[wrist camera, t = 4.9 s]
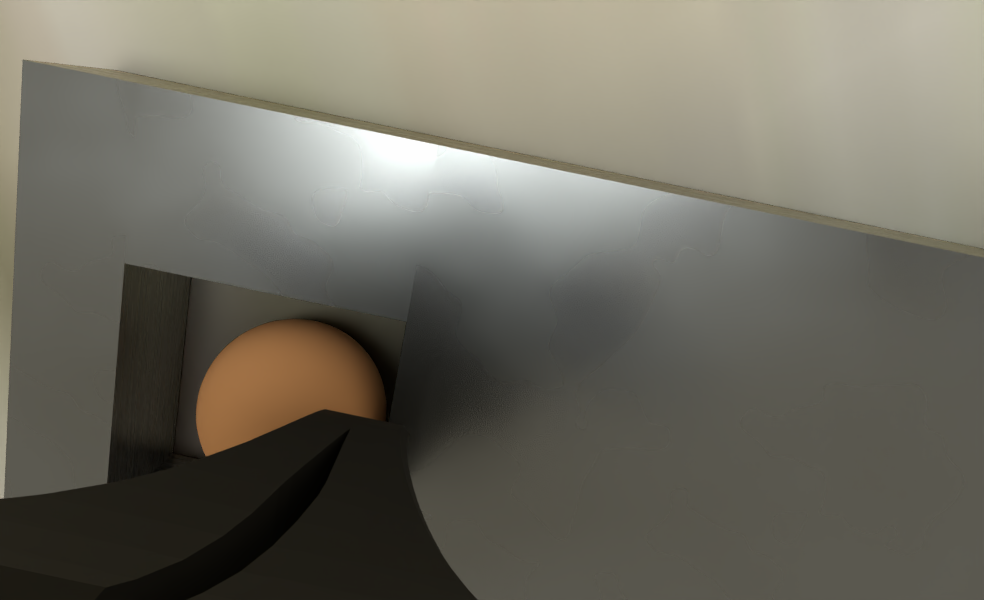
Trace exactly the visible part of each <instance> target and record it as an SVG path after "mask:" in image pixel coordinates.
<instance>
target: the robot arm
mask: <svg viewBox="0 0 984 600" xmlns="http://www.w3.org/2000/svg"><path fill="white" fill-rule="evenodd" d="M409 435H410V434H409V433H408V431H407V430H406V428H405V426H404V425H399V424H394V423H389V422H385V421H380V420H375V419H370V418H365V417H361V416H356V415H351V414H346V413H341V412H337V411H332V410H327V409H324V410H320V411H317V412H314V413H312V414H309V415H307V416H305V417H302V418H300V419H298V420H296V421H293V422H291V423H289V424H287V425H284V426H282V427H280V428H277V429H275V430H273V431H270V432H268V433H266V434H263V435H261V436H259V437H257V438H254V439H252V440H250V441H247V442H245V443H242V444H239V445H236V446H234V447H231V448H228V449H226V450H223V451H220V452H217V453H215V454H212V455H209V456H206V457H204V458H201V459H198V460H196V461H193V462H189V463H186V464H183V465H180V466H176V467H173V468H170V469H166V470H163V471H159V472H155V473H151V474H147V475H143V476H139V477H135V478H131V479H126V480H122V481H117V482H112V483H106V484H100V485H95V486H89V487H83V488H77V489H71V490H65V491H59V492H54V493H48V494H40V495H32V496H23V497H13V498H4V499H0V600H478V599H477V598H476V597H475V596H474V595H473V594H472V593H471V592H470V591H469V590H468V588H467V587H466V586H465V585H464V584H463V582H462V581H461V580H460V579H459V577H458V576H457V575H456V573H455V572H454V571H453V570H452V568H451V567H450V565H449V564H448V562H447V561H446V559H445V558H444V556H443V555H442V553H441V551H440V549H439V547H438V546H437V544H436V542H435V540H434V538H433V536H432V534H431V532H430V530H429V528H428V526H427V524H426V521H425V519H424V517H423V514H422V511H421V509H420V506H419V503H418V501H417V498H416V494H415V491H414V488H413V484H412V480H411V476H410V472H409V466H408V460H407V446H408V441H409Z"/></svg>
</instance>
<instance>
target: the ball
mask: <svg viewBox="0 0 984 600" xmlns="http://www.w3.org/2000/svg"><path fill="white" fill-rule="evenodd" d="M324 409H327V410H332V411H337V412H341V413H346V414H351V415H356V416H361V417H365V418H370V419H375V420H380V421H386V396H385V391H384V386H383V382H382V379H381V376H380V374H379V372H378V369H377V367H376V365H375V364H374V362H373V361H372V359H371V357H370V356H369V355H368V354H367V352H366V351H365V350H364V349H363V348H362V347H361V346H360V345H359V344H358V343H357V342H356V341H355V340H354V339H353V338H351V337H350V336H349V335H347V334H346V333H344V332H342V331H341V330H339V329H337V328H335V327H332V326H330V325H327V324H324V323H321V322H317V321H312V320H306V319H285V320H276V321H272V322H268V323H265V324H262V325H260V326H257V327H255V328H252V329H250V330H248V331H246V332H245V333H243V334H241V335H240V336H238V337H237V338H236V339H234V340H233V341H232V342H231V343H229V344H228V345H227V346H226V347H225V348H224V349H223V350H222V351H221V352H220V353H219V355H218V356H217V357H216V358H215V360H214V361H213V363H212V364H211V366H210V367H209V369H208V371H207V373H206V375H205V377H204V379H203V381H202V384H201V387H200V390H199V394H198V400H197V407H196V424H197V431H198V435H199V440H200V443H201V446H202V449H203V451H204V453H205V455H206V456H209V455H212V454H215V453H217V452H220V451H223V450H226V449H228V448H231V447H234V446H236V445H239V444H242V443H245V442H247V441H250V440H252V439H254V438H257V437H259V436H261V435H263V434H266V433H268V432H270V431H273V430H275V429H277V428H280V427H282V426H284V425H287V424H289V423H291V422H293V421H296V420H298V419H300V418H302V417H305V416H307V415H309V414H312V413H314V412H317V411H320V410H324Z"/></svg>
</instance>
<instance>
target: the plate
mask: <svg viewBox="0 0 984 600" xmlns="http://www.w3.org/2000/svg"><path fill="white" fill-rule="evenodd" d="M191 277H193V278H198V279H203V280H208V281H212V282H217V283H222V284H227V285H232V286H236V287H241V288H246V289H251V290H256V291H261V292H265V293H270V294H275V295H280V296H285V297H289V298H294V299H299V300H304V301H309V302H314V303H318V304H323V305H328V306H333V307H338V308H342V309H347V310H352V311H357V312H362V313H367V314H371V315H376V316H381V317H386V318H391V319H395V320H400V321H405V322H407V323H406V328H405V334H404V339H403V345H402V351H401V356H400V362H399V368H398V373H397V379H396V384H395V390H394V396H393V401H392V407H391V413H390V418H389V423H394V424H399V425H404V426H405V428H406V430H407V431H408V433H409V434H410V435H409V441H408V446H407V460H408V466H409V472H410V476H411V480H412V484H413V488H414V491H415V494H416V498H417V501H418V503H419V506H420V509H421V511H422V514H423V517H424V519H425V521H426V524H427V526H428V528H429V530H430V532H431V534H432V536H433V538H434V540H435V542H436V544H437V546H438V547H439V549H440V551H441V553H442V555H443V556H444V558H445V559H446V561H447V562H448V564H449V565H450V567H451V568H452V570H453V571H454V572H455V573H456V575H457V576H458V577H459V579H460V580H461V581H462V582H463V584H464V585H465V586H466V587H467V588H468V590H469V591H470V592H471V593H472V594H473V595H474V596H475V597H476V598H477V599H478V600H984V249H982V248H977V247H972V246H967V245H962V244H957V243H952V242H948V241H943V240H938V239H933V238H928V237H923V236H918V235H914V234H909V233H904V232H899V231H894V230H889V229H884V228H880V227H875V226H870V225H865V224H860V223H855V222H850V221H846V220H841V219H836V218H831V217H826V216H821V215H816V214H812V213H807V212H802V211H797V210H792V209H787V208H782V207H778V206H773V205H768V204H763V203H758V202H753V201H748V200H744V199H739V198H734V197H729V196H724V195H719V194H714V193H710V192H705V191H700V190H695V189H690V188H685V187H680V186H676V185H671V184H666V183H661V182H656V181H651V180H647V179H642V178H637V177H632V176H627V175H622V174H617V173H613V172H608V171H603V170H598V169H593V168H588V167H583V166H579V165H574V164H569V163H564V162H559V161H554V160H549V159H545V158H540V157H535V156H530V155H525V154H520V153H515V152H511V151H506V150H501V149H496V148H491V147H486V146H481V145H477V144H472V143H467V142H462V141H457V140H452V139H447V138H443V137H438V136H433V135H428V134H423V133H418V132H413V131H409V130H404V129H399V128H394V127H389V126H384V125H379V124H375V123H370V122H365V121H360V120H355V119H350V118H345V117H341V116H336V115H331V114H326V113H321V112H316V111H311V110H307V109H302V108H297V107H292V106H287V105H282V104H278V103H273V102H268V101H263V100H258V99H253V98H248V97H244V96H239V95H234V94H229V93H224V92H219V91H214V90H210V89H205V88H200V87H195V86H190V85H185V84H180V83H176V82H171V81H166V80H161V79H156V78H151V77H146V76H142V75H137V74H132V73H127V72H122V71H117V70H110V69H102V68H93V67H84V66H75V65H66V64H57V63H49V62H40V61H31V60H23V67H22V90H21V114H20V137H19V161H18V185H17V208H16V232H15V255H14V279H13V303H12V326H11V350H10V373H9V397H8V421H7V444H6V468H5V492H4V498H13V497H23V496H32V495H40V494H48V493H54V492H59V491H65V490H71V489H77V488H83V487H89V486H95V485H100V484H106V483H112V482H117V481H122V480H126V479H131V478H135V477H139V476H143V475H147V474H151V473H155V472H159V471H163V470H166V469H170V468H173V467H176V466H180V465H183V464H186V463H189V462H193V461H196V460H198V458H193V457H188V456H183V455H179V454H174V453H173V448H174V438H175V428H176V418H177V409H178V399H179V389H180V379H181V370H182V360H183V350H184V340H185V330H186V321H187V311H188V301H189V291H190V282H191Z"/></svg>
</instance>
